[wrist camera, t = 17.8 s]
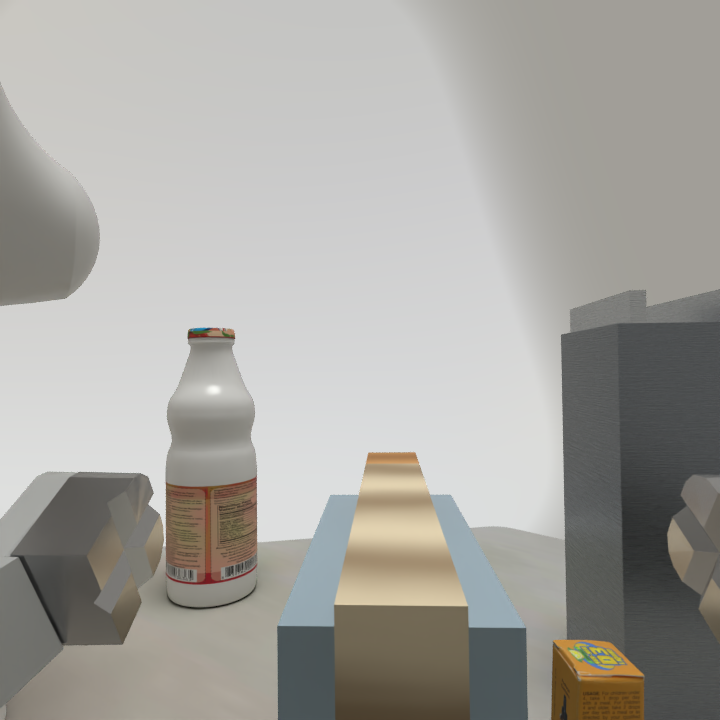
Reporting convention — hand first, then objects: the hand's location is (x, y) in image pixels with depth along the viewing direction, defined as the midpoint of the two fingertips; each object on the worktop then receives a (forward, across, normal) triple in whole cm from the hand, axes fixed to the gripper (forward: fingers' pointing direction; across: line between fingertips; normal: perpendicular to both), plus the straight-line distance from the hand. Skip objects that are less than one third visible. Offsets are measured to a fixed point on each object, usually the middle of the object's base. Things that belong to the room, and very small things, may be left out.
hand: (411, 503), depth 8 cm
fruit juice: (+30, +19, +43) cm, 56 cm away
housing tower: (+15, -18, +33) cm, 40 cm away
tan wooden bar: (+10, 0, +13) cm, 16 cm away
